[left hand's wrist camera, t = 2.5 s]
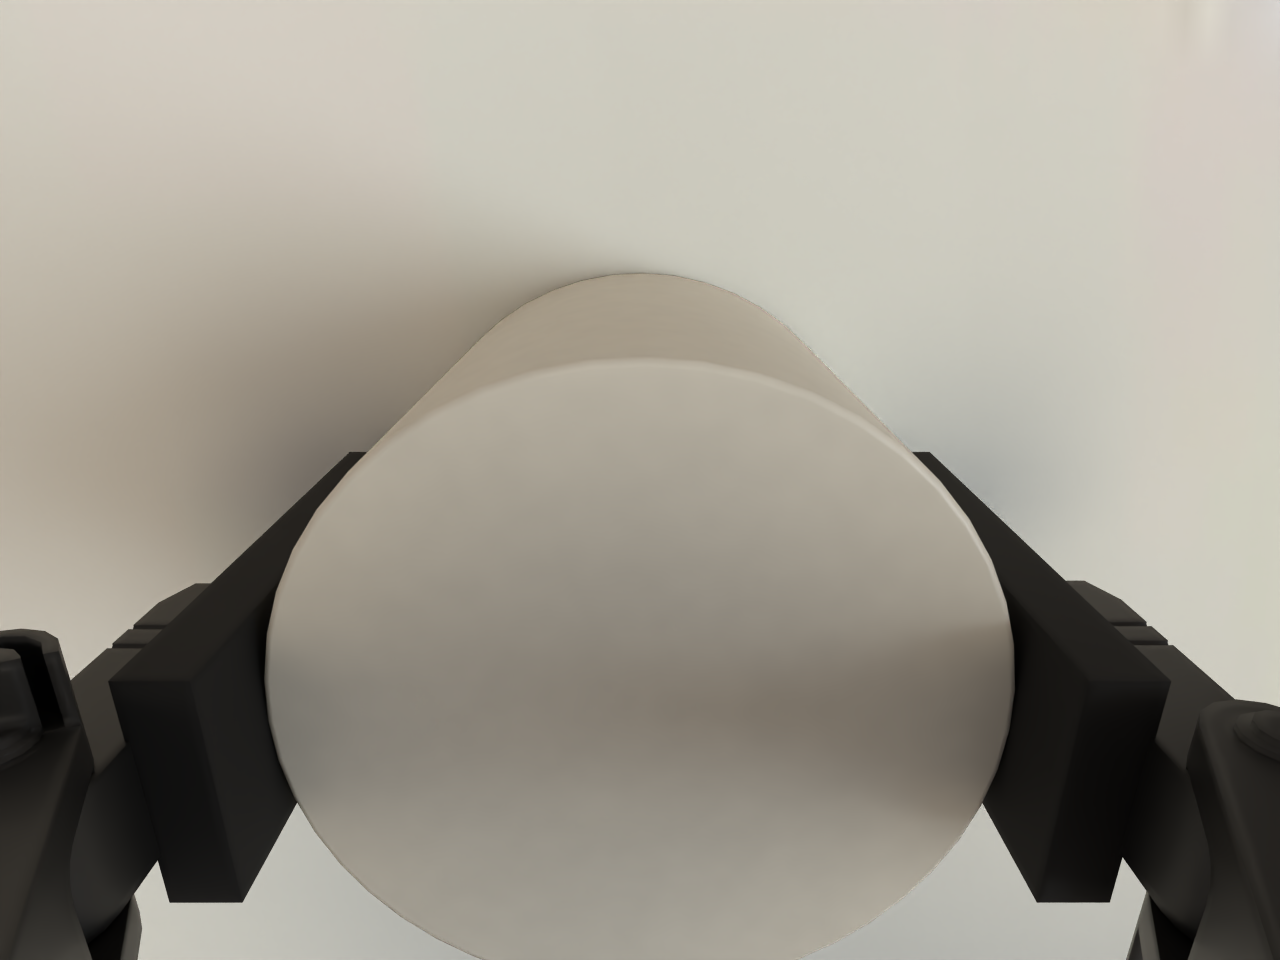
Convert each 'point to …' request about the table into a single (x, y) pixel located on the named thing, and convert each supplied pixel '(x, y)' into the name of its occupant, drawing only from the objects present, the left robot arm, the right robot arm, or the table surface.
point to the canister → (639, 644)
